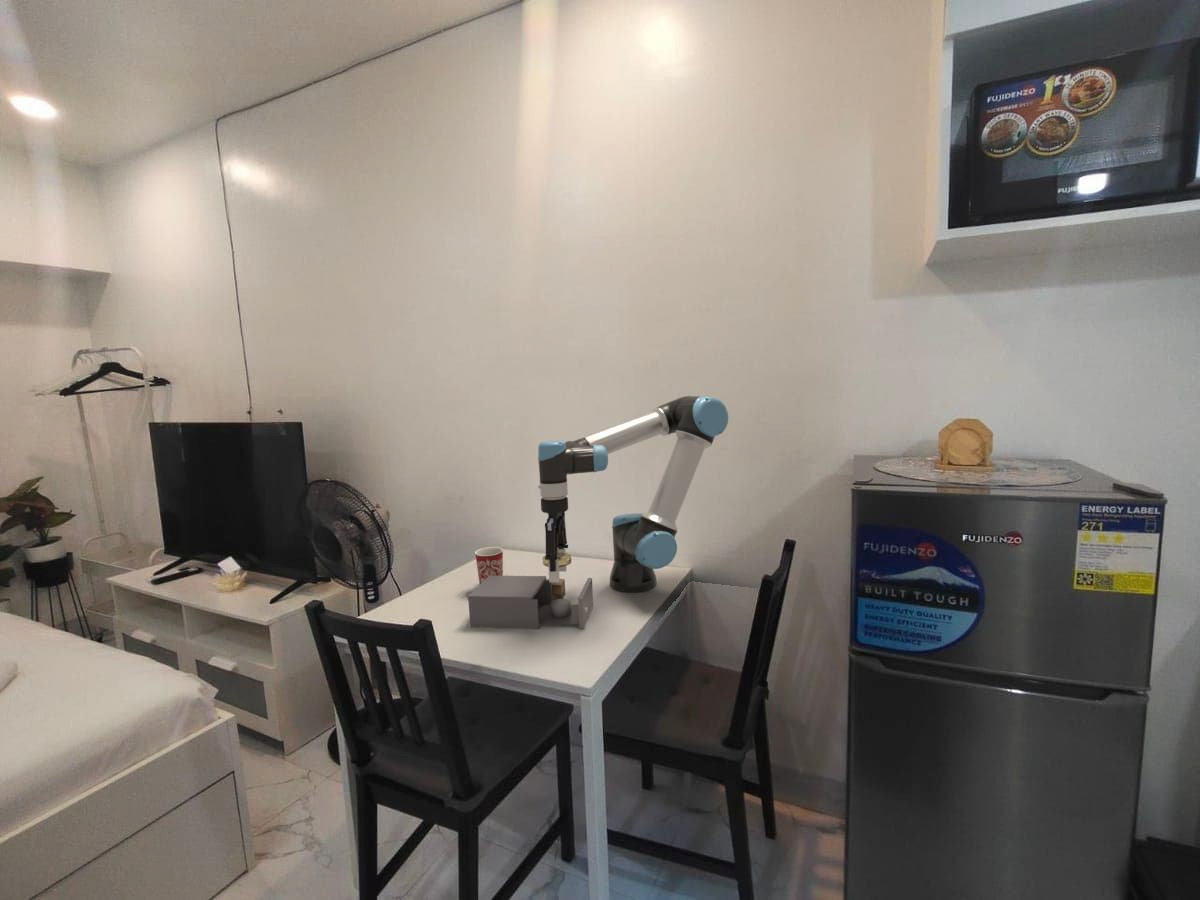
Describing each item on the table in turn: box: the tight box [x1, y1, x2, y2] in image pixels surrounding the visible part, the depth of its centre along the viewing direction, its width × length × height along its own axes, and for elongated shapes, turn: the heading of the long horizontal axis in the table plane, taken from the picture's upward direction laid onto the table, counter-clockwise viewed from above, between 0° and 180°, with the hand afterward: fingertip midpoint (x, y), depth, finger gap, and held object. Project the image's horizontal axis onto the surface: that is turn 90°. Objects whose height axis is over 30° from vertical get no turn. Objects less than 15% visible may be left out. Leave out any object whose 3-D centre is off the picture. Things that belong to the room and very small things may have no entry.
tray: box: [538, 577, 594, 630], centre depth 152 cm, size 20×15×8 cm
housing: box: [467, 575, 553, 630], centre depth 154 cm, size 20×16×9 cm
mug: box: [474, 546, 504, 585], centre depth 175 cm, size 13×9×14 cm
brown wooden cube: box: [551, 578, 566, 600], centre depth 166 cm, size 5×5×5 cm
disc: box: [542, 552, 572, 568], centre depth 150 cm, size 8×8×2 cm
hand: (558, 576), depth 150 cm, fingers closed on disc, 8 cm apart
